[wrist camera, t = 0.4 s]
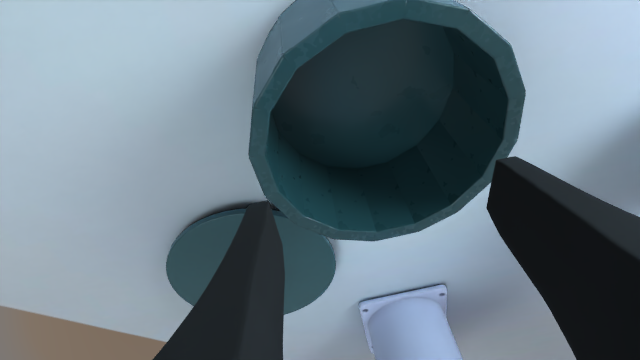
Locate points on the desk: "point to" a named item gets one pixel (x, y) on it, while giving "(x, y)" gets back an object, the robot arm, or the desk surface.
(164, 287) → the desk surface
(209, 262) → the lid
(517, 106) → the pot
